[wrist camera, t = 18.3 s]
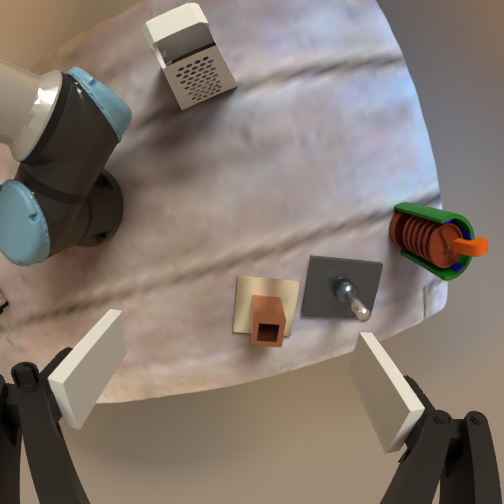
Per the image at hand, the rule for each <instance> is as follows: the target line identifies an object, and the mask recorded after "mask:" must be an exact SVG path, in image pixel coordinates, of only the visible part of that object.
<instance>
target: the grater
mask: <svg viewBox="0 0 504 504" xmlns="http://www.w3.org/2000/svg"><path fill="white" fill-rule="evenodd" d="M142 31H143V34H144V36H145V39H146V41H147V43H148V46H149V48H150V50H151V51H152V52H153V54H154V55H155V56H156V57H157V59H158V61H159V63H160V65H161V68H162V70H163V72H164V74H165V76H166V78H167V80H168V83H169V85H170V87H171V89H172V91H173V93H174V95H175V97H176V99H177V101H178V104H179V106H180V108H181V110H184V109H186V108H188V107H191V106H193V105H195V104H197V103H199V102H201V101H204V100H206V99H208V98H211V97H213V96H215V95H218V94H220V93H222V92H225V91H227V90H230V89H232V88H235V87H237V83H236V81H235V79H234V77H233V75H232V73H231V71H230V69H229V67H228V65H227V63H226V62H225V59H224V57H223V55H222V53H221V51H220V49H219V47H218V45H216V46H213V47H210V48H208V49H206V50H203V51H201V52H198V53H196V54H194V55H191V56H189V57H187V58H185V59H182V60H180V61H178V62H176V63H174V64H172V60H173V59H176V58H178V57H180V56H182V55H184V54H187V53H189V52H191V51H193V50H196V49H198V48H200V47H203V46H205V45H208V44H210V43H213V42H215V40H214V38H213V36H212V34H211V31H210V27H209V24H208V22H207V20H206V18H205V16H204V14H203V12H202V11H201V9H200V7H199V5H198V4H195V3H187V4H185V5H182V6H180V7H178V8H175V9H173V10H171V11H168V12H166V13H164V14H162V15H160V16H157V17H155V18H153V19H151V20H149V21H147V22H146V23H145V24H144V26H143V28H142ZM215 43H216V42H215ZM216 44H217V43H216ZM204 57H209V58H208V59H207V60H203V58H204ZM197 60H201V62H200V63H198V64H195V63H194V62H195V61H197ZM209 60H214V61H213V62H212V63H208V61H209ZM202 63H206V64H205V65H204V66H202V67H200V64H202ZM188 64H192V66H191V67H189V68H187V67H186V66H187V65H188ZM208 65H212V66H211V67H210V68H206V66H208ZM195 66H198V68H197V69H195V70H192V68H193V67H195ZM182 67H184V70H182V71H178V69H179V68H182ZM213 67H216V69H215V70H213V71H211V68H213ZM200 68H204V70H203V71H198V70H199V69H200ZM186 70H190V71H189V72H188V73H186V74H184V71H186ZM206 70H208V71H209V72H208V73H206V74H203V72H204V71H206ZM194 71H196V73H195V74H194V75H190V73H191V72H194ZM211 72H214V74H213V75H215V74H218V76H216V77H213V75H209V73H211ZM177 74H182V75H181V76H180V77H176V75H177ZM197 74H201V76H199V77H196V75H197ZM185 75H188V77H187V78H183V76H185ZM204 75H207V77H205V78H201V77H202V76H204ZM190 77H194V78H193V79H192V80H188V79H189V78H190ZM208 77H211V79H209V80H206V78H208ZM197 78H199V80H198V81H196V82H194V80H195V79H197ZM214 78H216V80H215V81H211V80H212V79H214ZM184 80H186V82H185V83H183V84H181V82H182V81H184ZM201 80H204V82H202V83H199V81H201ZM218 80H220V82H219V83H215V82H216V81H218ZM207 81H210V82H209V83H208V84H204V83H205V82H207ZM188 82H192V84H194V83H197V85H195V86H191V85H192V84H190V85H187V83H188ZM211 83H214V84H213V85H212V86H209V84H211ZM200 84H202V86H201V87H197V86H198V85H200ZM216 84H219V85H218V86H217V87H219V86H222V87H221V88H217V87H214V85H216ZM188 86H189V87H190V88H189V89H187V90H185V88H186V87H188ZM204 86H207V87H206V88H205V89H202V87H204ZM194 87H195V89H194V90H190V89H191V88H194ZM209 87H212V89H214V88H216V90H214V91H211V90H212V89H210V90H207V89H208V88H209ZM197 89H200V91H198V92H195V90H197ZM219 89H220V91H219V92H216V91H217V90H219ZM202 90H205V92H207V91H209V93H207V94H204V93H205V92H203V93H200V92H201V91H202ZM191 92H193V94H192V95H188V94H189V93H191ZM211 92H214V94H212V95H209V94H210V93H211ZM196 93H199V94H198V95H200V94H203V95H202V96H200V97H198V95H196V96H194V94H196ZM205 95H208V96H207V97H205V98H203V96H205ZM193 97H196V99H194V100H191V99H192V98H193ZM198 98H201V99H200V100H197V99H198Z"/></svg>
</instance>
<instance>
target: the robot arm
mask: <svg viewBox="0 0 504 504" xmlns="http://www.w3.org/2000/svg"><path fill="white" fill-rule="evenodd" d="M131 119H132V112H131V110H130V108H129V106H128V105H127V104H126V103H125V102H124V101H123V100H121V99H120V98H119V97H118V96H117V95H116V94H115V93H113V92H112V91H111V90H110V89H108V88H107V87H106V86H104V85H103V84H102V83H100V82H98V81H97V80H96V79H95V78H93V77H92V76H91V75H90V74H88V73H87V72H85V71H84V70H82V69H80V68H78V67H73V68H71V70H69V71H68V72H67V73H66V74H64V73H62V72H60V71H58V70H53V71H51V72H48V73H46V74H44V75H42V76H38V75H36V74H34V73H31V72H29V71H27V70H25V69H22V68H20V67H18V66H15V65H13V64H11V63H9V62H6V61H4V60H1V59H0V143H3V144H6V145H8V146H9V148H10V151H11V154H12V156H13V159H14V160H15V161H18V162H21V163H20V166H19V168H18V170H17V173H16V175H15V178H14V179H9V180H6V181H5V182H4V183H3V184H1V185H0V250H1V252H2V253H3V255H4V256H5V257H6V258H7V259H8V260H9V261H11V262H12V263H14V264H16V265H19V266H30V265H32V264H35V263H41V262H43V261H44V260H46V259H47V258H49V257H51V256H53V255H55V254H57V253H59V252H61V251H63V250H65V249H67V248H70V247H72V246H80V247H93V246H97V245H99V244H101V243H103V242H105V241H107V240H108V239H110V238H111V237H112V236H113V235H114V233H115V232H116V231H117V229H118V227H119V225H120V222H121V219H122V215H123V197H122V193H121V190H120V187H119V185H118V183H117V182H116V180H115V179H114V177H113V176H112V175H111V174H110V173H108V172H107V171H106V170H104V169H103V167H104V166H105V164H106V162H107V160H108V159H109V157H110V155H111V154H112V152H113V150H114V148H115V147H116V145H117V144H118V143H120V142H121V139H122V135H123V134H124V132H125V130H126V129H127V127H128V125H129V124H130V122H131ZM126 353H127V351H126V343H125V334H124V324H123V312H122V311H118V310H113V309H110V310H109V311H108V312H107V313H106V314H105V315H104V316H103V317H102V318H101V319H100V320H99V322H98V323H97V324H96V325H95V326H94V327H93V328H92V329H91V330H90V331H89V332H88V333H87V334H86V335H85V337H84V338H83V339H82V340H81V341H80V342H79V343H78V344H77V345H76V346H75V348H74V349H73V348H70V347H67V348H65V349H64V350H62V351H60V352H59V353H58V354H57V355H56V356H55V358H53V359H52V361H51V362H50V363H49V364H48V365H47V366H46V367H45V368H44V369H43V370H42V371H41V373H40V374H39V371H38V368H37V366H36V365H35V364H34V363H31V362H21V363H18V364H16V365H15V366H14V367H13V368H12V369H11V375H12V378H13V381H14V383H15V384H9V383H5V380H4V378H3V376H2V375H1V374H0V504H20V485H19V484H20V455H21V441H22V434H23V440H24V445H25V450H26V455H27V459H28V463H29V468H30V472H31V475H32V479H33V482H34V486H35V489H36V492H37V496H38V499H39V502H40V504H90V502H89V500H88V498H87V496H86V493H85V491H84V489H83V487H82V485H81V483H80V480H79V478H78V476H77V473H76V470H75V468H74V465H73V463H72V460H71V457H70V454H69V452H68V449H67V446H66V443H65V440H64V437H63V434H62V431H61V427H60V425H59V422H58V421H59V420H60V418H61V417H62V418H63V420H64V422H65V424H66V425H67V426H70V427H73V428H75V429H78V430H80V429H81V427H82V425H83V424H84V422H85V420H86V418H87V417H88V415H89V413H90V412H91V410H92V408H93V406H94V405H95V403H96V401H97V400H98V398H99V396H100V395H101V393H102V391H103V390H104V388H105V387H106V385H107V383H108V382H109V380H110V378H111V377H112V375H113V373H114V372H115V370H116V369H117V367H118V365H119V364H120V362H121V361H122V359H123V357H124V356H125V354H126ZM348 373H349V376H350V378H351V380H352V382H353V384H354V386H355V388H356V390H357V393H358V395H359V396H360V399H361V401H362V403H363V405H364V408H365V410H366V412H367V414H368V416H369V419H370V421H371V423H372V425H373V427H374V430H375V432H376V434H377V436H378V439H379V441H380V443H381V445H382V447H383V450H384V452H385V453H390V452H395V451H399V450H400V449H401V447H402V446H403V444H404V443H406V445H407V447H408V448H407V450H406V451H405V453H404V454H403V455H402V457H401V459H400V460H399V461H398V462H399V463H400V464H399V467H398V469H397V471H396V473H395V475H394V477H393V479H392V481H391V483H390V485H389V487H388V489H387V491H386V493H385V495H384V497H383V499H382V501H381V502H380V504H432V501H433V498H434V495H435V492H436V489H437V486H438V483H439V480H440V500H439V504H502V498H501V488H500V481H499V473H498V467H497V461H496V456H495V451H494V446H493V442H492V437H491V432H490V428H489V425H488V420H487V418H486V417H485V416H484V415H483V414H482V413H480V412H477V411H470V412H469V413H467V415H466V416H465V418H464V419H452V417H451V416H450V415H449V414H448V413H447V412H444V411H442V410H435V408H434V407H433V406H432V404H431V403H430V401H429V400H428V398H427V397H426V396H425V394H423V391H422V390H421V389H419V386H418V384H417V383H416V382H415V381H414V380H413V379H411V378H410V377H409V376H408V375H407V376H402V374H401V373H400V371H399V370H398V369H397V367H396V366H395V364H394V363H393V362H392V360H391V359H390V357H389V356H388V355H387V353H386V352H385V351H384V349H383V348H382V346H381V345H380V344H379V342H378V341H377V339H376V338H375V337H374V335H373V334H372V333H359V336H358V340H357V343H356V347H355V350H354V353H353V356H352V360H351V363H350V366H349V369H348Z"/></svg>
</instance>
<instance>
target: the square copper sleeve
mask: <svg viewBox="0 0 504 504" xmlns="http://www.w3.org/2000/svg"><path fill="white" fill-rule="evenodd" d="M285 324H286V317H285V313H284V309H283V306H282V302H281V298H280V297H271V296H260V295H253V297H252V306H251V315H250V345H256V346H271V347H282V342H283V336H284V330H285Z"/></svg>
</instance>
